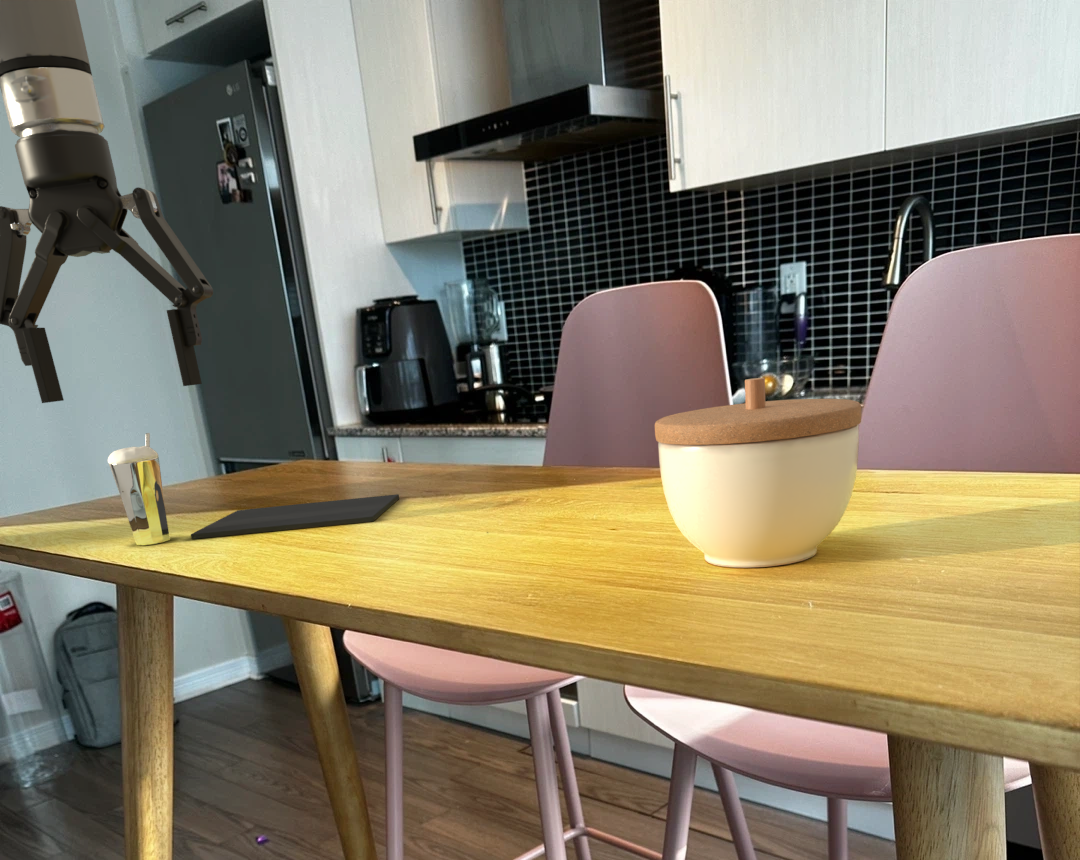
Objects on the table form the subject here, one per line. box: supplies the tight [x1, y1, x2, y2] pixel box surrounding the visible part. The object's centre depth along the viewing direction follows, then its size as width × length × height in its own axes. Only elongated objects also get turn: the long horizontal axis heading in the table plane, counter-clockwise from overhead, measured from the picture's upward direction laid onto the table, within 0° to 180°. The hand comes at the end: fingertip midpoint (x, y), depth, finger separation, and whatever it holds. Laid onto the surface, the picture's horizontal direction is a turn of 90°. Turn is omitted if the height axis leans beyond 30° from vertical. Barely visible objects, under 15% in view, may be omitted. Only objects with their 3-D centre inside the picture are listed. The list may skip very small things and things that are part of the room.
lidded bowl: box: [654, 377, 862, 569], centre depth 65 cm, size 13×13×11 cm
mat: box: [190, 493, 400, 540], centre depth 105 cm, size 18×14×1 cm
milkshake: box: [107, 432, 171, 546], centre depth 99 cm, size 4×5×10 cm
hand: (122, 394), depth 96 cm, fingers open, 13 cm apart
